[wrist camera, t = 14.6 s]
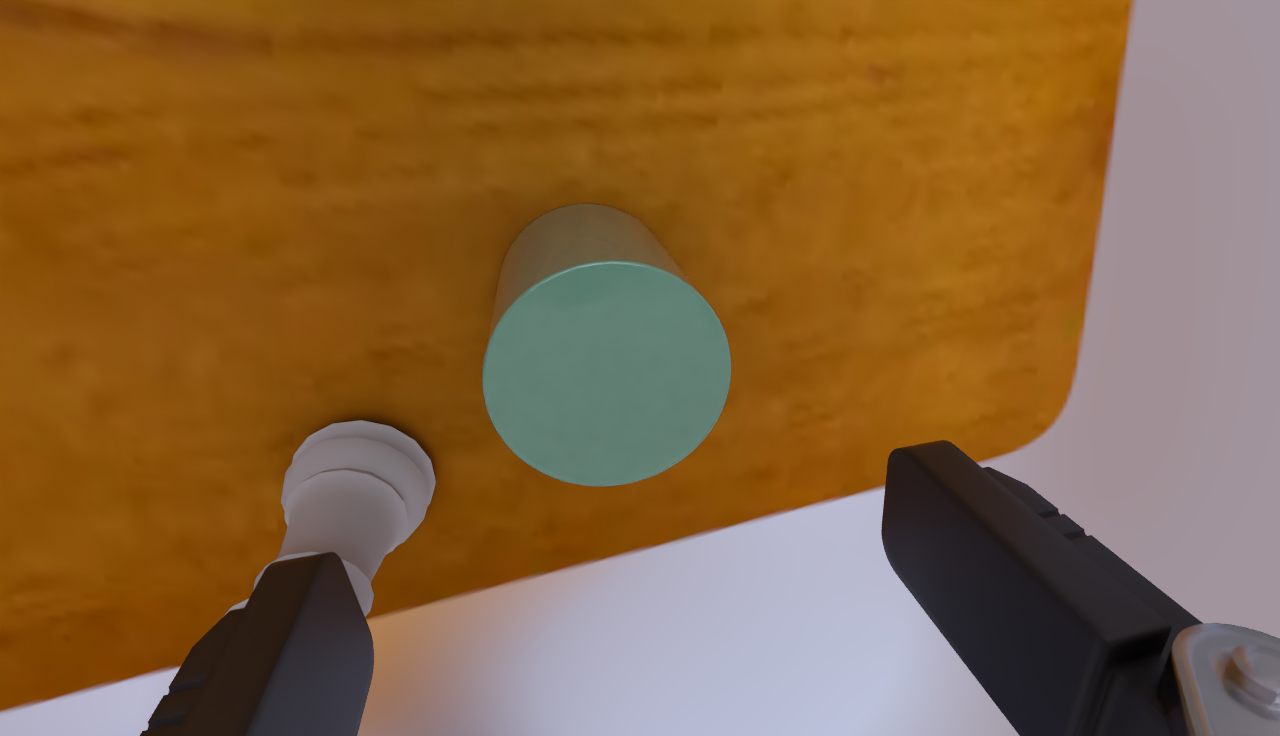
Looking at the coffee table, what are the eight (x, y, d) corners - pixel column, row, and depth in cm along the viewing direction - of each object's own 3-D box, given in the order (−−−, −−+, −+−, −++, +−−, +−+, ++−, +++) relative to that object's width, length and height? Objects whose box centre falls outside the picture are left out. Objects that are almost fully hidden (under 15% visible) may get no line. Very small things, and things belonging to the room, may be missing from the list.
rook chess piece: (458, 503, 21) (418, 713, 14) (333, 540, 21) (231, 772, 14) (405, 395, 19) (329, 577, 12) (268, 436, 19) (111, 643, 12)
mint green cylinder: (516, 382, 20) (509, 506, 14) (481, 216, 18) (454, 281, 12) (678, 357, 20) (735, 465, 15) (665, 192, 18) (727, 242, 12)
